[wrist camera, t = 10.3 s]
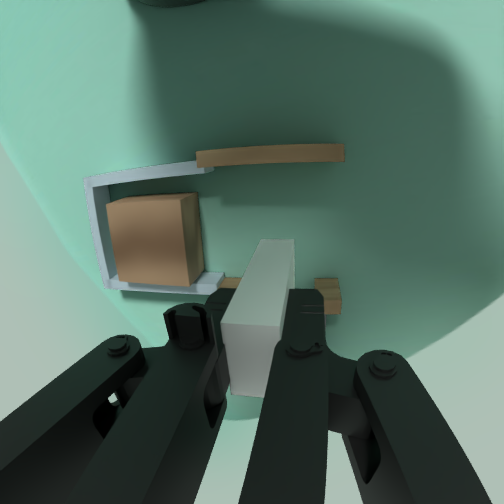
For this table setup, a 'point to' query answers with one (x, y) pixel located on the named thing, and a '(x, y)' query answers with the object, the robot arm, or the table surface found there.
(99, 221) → the dock
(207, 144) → the table surface
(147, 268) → the block
